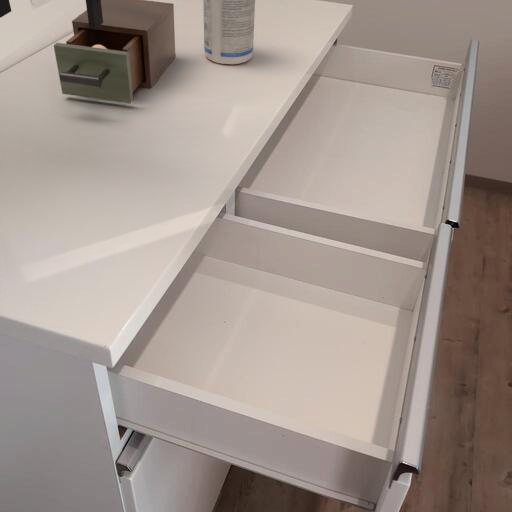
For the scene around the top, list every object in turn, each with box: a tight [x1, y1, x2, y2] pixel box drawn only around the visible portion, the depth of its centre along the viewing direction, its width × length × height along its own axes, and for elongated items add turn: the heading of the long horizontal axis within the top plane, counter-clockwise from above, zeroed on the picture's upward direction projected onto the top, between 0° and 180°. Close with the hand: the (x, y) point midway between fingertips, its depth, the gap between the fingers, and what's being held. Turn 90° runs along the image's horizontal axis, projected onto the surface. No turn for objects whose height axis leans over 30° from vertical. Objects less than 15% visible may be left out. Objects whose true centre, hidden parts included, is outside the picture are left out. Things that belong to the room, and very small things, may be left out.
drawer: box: [53, 28, 146, 104], centre depth 89 cm, size 19×12×8 cm, turn 170°
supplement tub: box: [202, 0, 256, 65], centre depth 102 cm, size 10×10×15 cm
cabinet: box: [71, 0, 176, 89], centre depth 97 cm, size 15×13×10 cm
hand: (49, 20), depth 70 cm, fingers open, 12 cm apart
